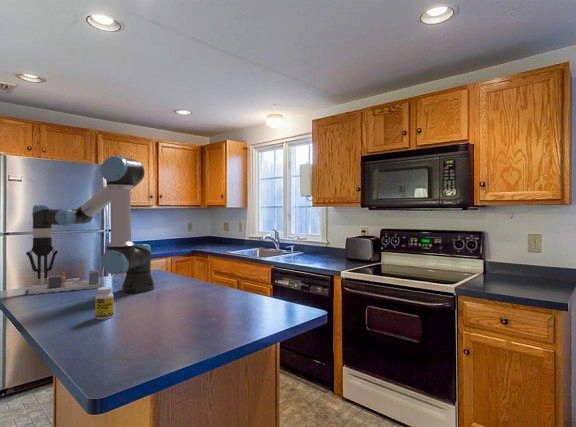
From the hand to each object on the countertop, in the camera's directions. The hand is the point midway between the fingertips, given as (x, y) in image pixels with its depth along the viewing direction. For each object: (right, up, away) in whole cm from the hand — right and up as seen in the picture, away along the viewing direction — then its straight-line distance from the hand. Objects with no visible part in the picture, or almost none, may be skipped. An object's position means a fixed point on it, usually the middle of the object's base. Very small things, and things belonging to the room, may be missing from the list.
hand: (42, 285), depth 172 cm
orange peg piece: (+4, -1, +10) cm, 11 cm away
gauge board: (+7, -3, +7) cm, 10 cm away
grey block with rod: (+6, -1, +7) cm, 9 cm away
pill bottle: (+50, -4, -39) cm, 64 cm away
